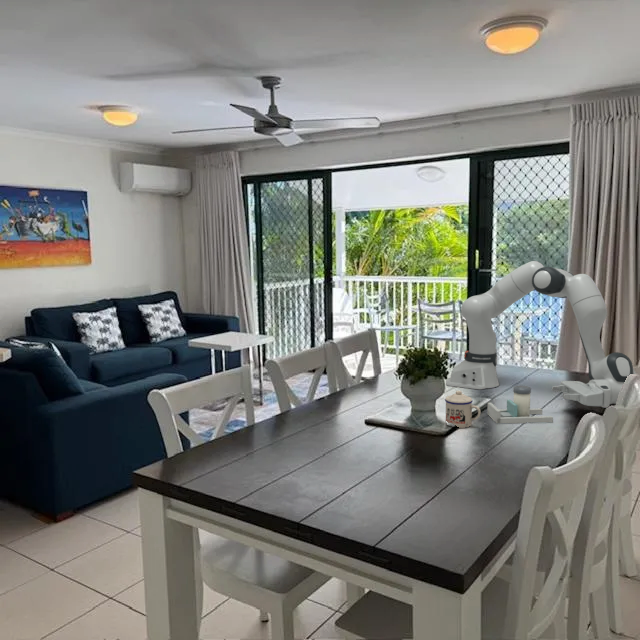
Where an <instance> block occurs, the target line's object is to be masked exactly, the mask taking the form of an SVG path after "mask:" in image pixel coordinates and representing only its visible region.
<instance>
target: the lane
mask: <svg viewBox="0 0 640 640" xmlns="http://www.w3.org/2000/svg"><path fill="white" fill-rule="evenodd" d="M501 412H507V408H504V409H502V408H501V409H500V408H498V407H497V406H496V405H494V404H493V403H492V402H487V415H489V416H490V417H491V418H492V419H493V422H494V423H495V424H497V423H512V424H527V423H526V422H551V423H554V417H553V416H552V415H545V416H544V415H543V409H542V408H538V407H537V408H530V414H541V415H542V416H541V415H537V416H535V415H533V416H530V417H501ZM489 416H488V417H489ZM490 417H489V418H490Z"/></svg>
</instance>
